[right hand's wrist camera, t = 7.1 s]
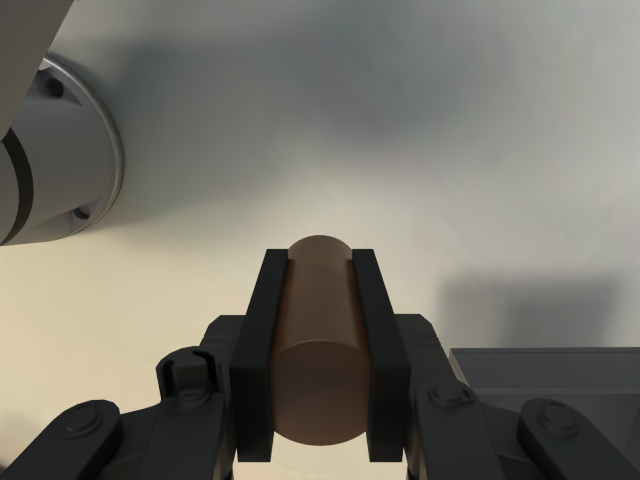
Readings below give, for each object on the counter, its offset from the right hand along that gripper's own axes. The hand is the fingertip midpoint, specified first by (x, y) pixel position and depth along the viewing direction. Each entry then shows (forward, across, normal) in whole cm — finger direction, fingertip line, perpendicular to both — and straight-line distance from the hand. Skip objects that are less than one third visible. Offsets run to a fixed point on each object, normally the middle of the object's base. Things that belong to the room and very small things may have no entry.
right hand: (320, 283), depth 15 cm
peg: (+1, 0, 0) cm, 1 cm away
